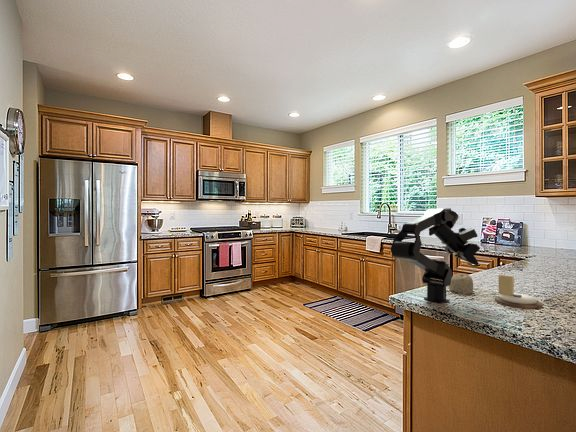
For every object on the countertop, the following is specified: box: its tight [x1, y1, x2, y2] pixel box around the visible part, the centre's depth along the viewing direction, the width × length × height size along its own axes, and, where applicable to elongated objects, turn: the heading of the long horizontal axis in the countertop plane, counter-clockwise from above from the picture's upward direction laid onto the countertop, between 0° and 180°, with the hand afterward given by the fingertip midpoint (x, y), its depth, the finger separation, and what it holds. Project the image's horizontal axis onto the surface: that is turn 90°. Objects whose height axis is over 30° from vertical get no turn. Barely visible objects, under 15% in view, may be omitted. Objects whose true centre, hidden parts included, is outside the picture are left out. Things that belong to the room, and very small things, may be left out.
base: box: [494, 295, 543, 310], centre depth 112 cm, size 14×14×1 cm
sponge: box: [448, 273, 474, 294], centre depth 131 cm, size 9×10×10 cm
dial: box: [498, 273, 538, 304], centre depth 112 cm, size 11×12×8 cm
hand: (477, 264), depth 117 cm, fingers closed
